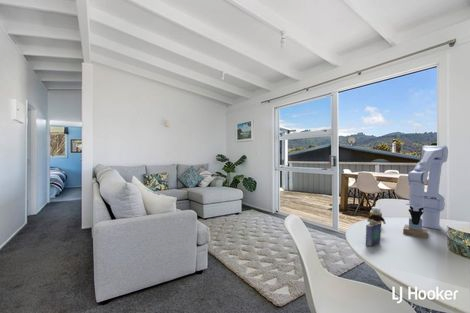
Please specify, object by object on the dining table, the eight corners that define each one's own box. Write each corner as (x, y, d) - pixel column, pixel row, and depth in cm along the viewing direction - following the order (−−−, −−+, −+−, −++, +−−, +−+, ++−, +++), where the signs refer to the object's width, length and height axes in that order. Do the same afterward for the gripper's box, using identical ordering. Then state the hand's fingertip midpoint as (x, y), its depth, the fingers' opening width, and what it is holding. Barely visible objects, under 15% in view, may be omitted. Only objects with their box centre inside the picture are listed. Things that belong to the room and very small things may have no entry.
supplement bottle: (378, 228, 120) (379, 209, 120) (367, 225, 125) (367, 207, 125) (383, 226, 123) (384, 208, 123) (372, 224, 128) (373, 205, 128)
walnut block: (405, 229, 120) (405, 224, 120) (427, 234, 114) (427, 228, 114) (403, 234, 114) (403, 228, 114) (426, 239, 108) (427, 233, 108)
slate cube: (408, 226, 118) (409, 216, 117) (421, 228, 115) (421, 218, 114) (408, 228, 114) (409, 218, 113) (421, 230, 111) (422, 220, 110)
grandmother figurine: (367, 233, 113) (368, 208, 113) (366, 230, 117) (367, 206, 116) (386, 235, 110) (386, 209, 110) (384, 233, 114) (385, 207, 113)
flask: (370, 247, 97) (370, 222, 97) (363, 244, 100) (363, 220, 99) (381, 243, 102) (382, 219, 101) (374, 240, 104) (375, 217, 104)
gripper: (407, 192, 122) (406, 217, 122) (405, 196, 110) (404, 224, 111) (424, 194, 117) (423, 220, 117) (424, 198, 106) (423, 227, 106)
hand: (415, 222), depth 114 cm, fingers open, 7 cm apart
